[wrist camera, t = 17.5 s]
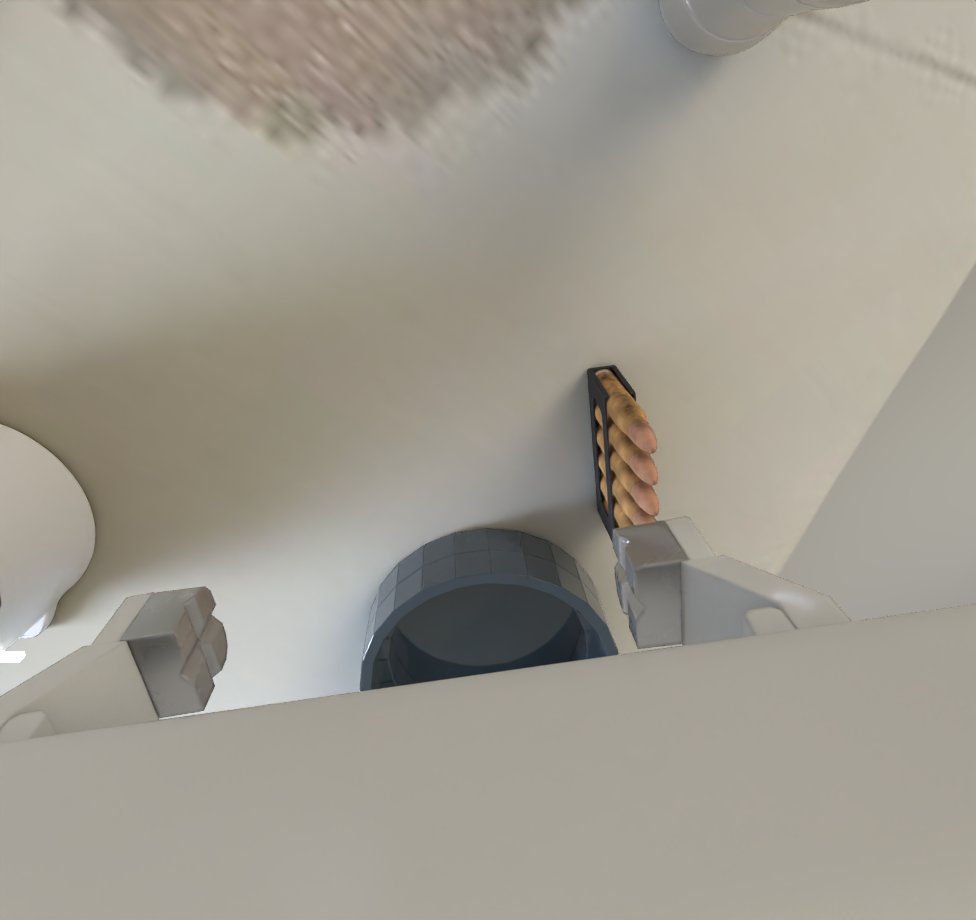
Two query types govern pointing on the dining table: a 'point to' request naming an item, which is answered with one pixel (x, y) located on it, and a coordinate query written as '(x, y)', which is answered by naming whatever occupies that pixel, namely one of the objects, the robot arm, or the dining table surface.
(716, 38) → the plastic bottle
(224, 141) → the dining table surface
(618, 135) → the dining table surface
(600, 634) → the bowl
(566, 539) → the dining table surface
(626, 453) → the ammunition clip
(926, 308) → the dining table surface
